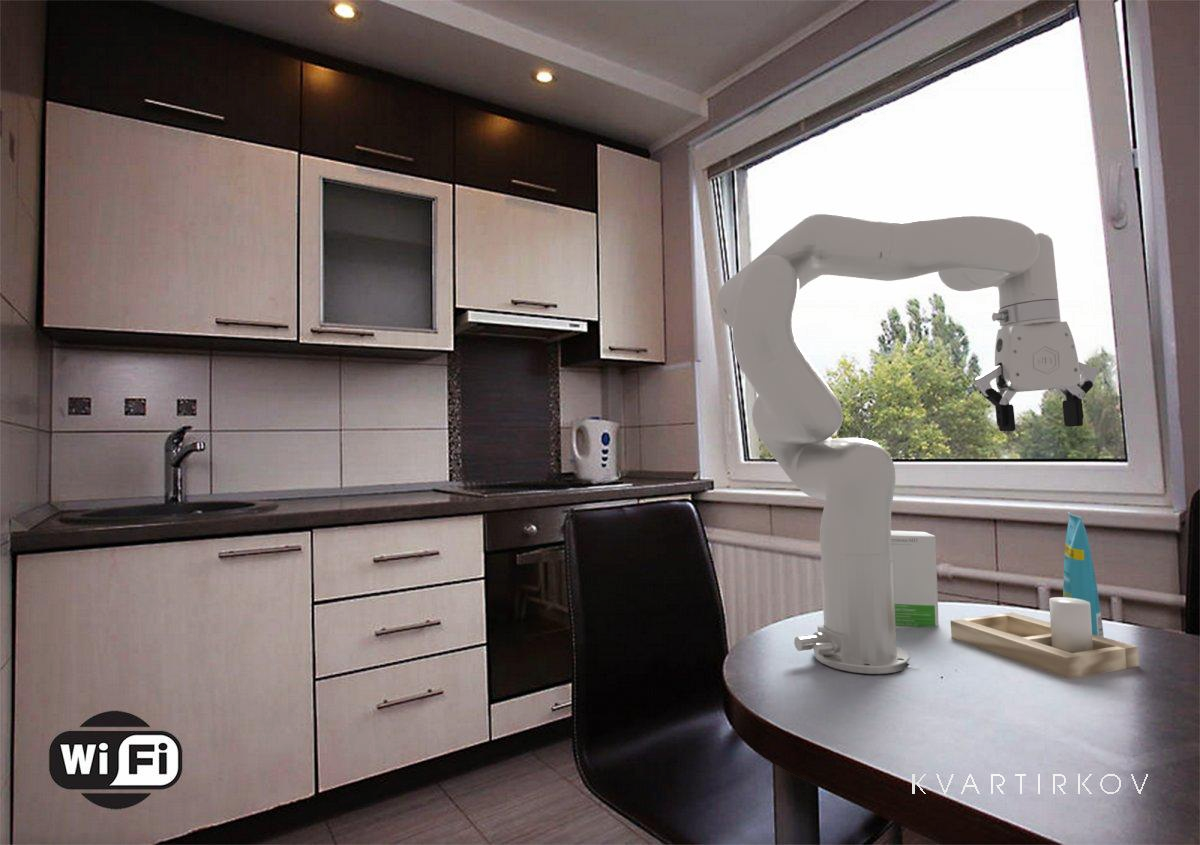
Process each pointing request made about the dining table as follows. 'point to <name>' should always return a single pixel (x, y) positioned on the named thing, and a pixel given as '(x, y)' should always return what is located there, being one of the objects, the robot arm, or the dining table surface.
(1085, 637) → the white rounded cylinder
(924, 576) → the skincare box
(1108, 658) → the birch holder
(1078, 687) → the dining table surface
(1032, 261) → the robot arm
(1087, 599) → the tube
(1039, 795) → the dining table surface
